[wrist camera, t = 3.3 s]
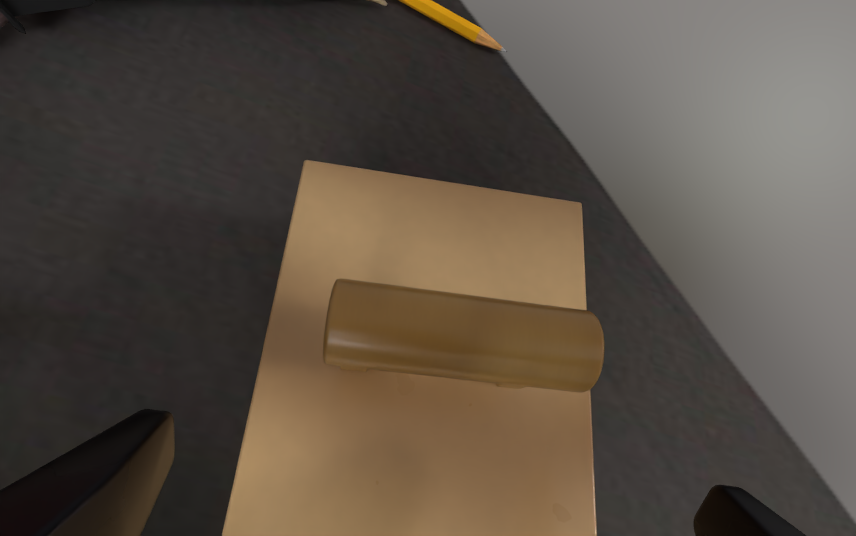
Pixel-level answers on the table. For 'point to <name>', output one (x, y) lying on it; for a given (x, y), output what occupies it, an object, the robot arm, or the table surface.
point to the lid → (422, 366)
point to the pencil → (454, 22)
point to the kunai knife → (33, 9)
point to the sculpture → (380, 2)
